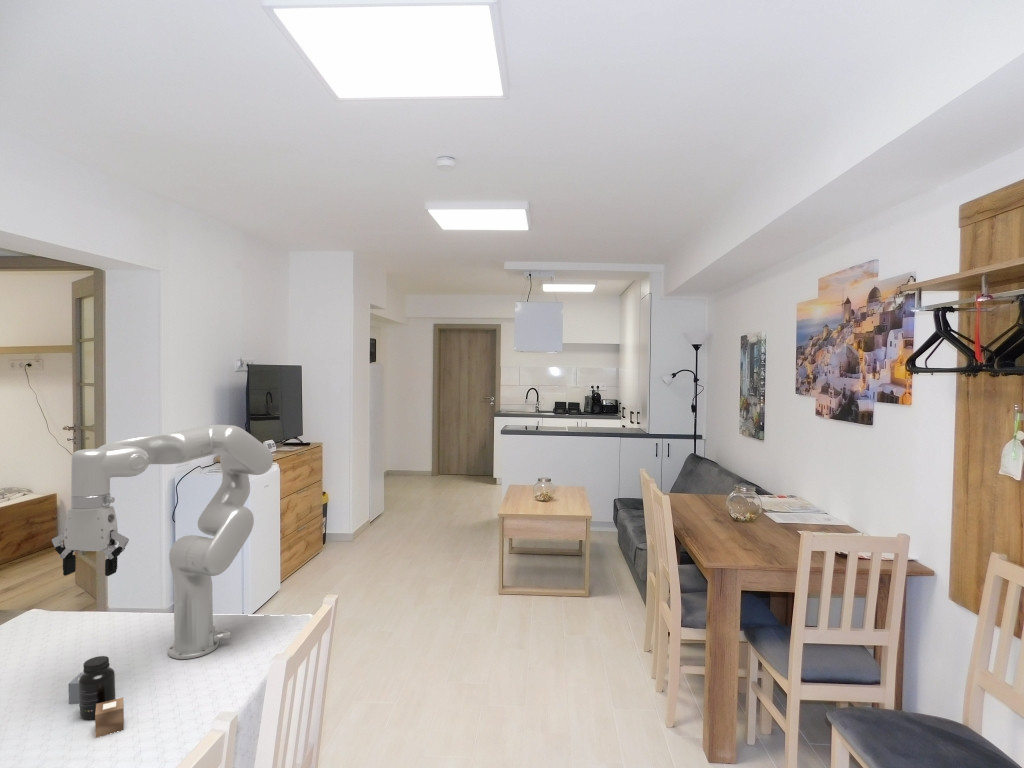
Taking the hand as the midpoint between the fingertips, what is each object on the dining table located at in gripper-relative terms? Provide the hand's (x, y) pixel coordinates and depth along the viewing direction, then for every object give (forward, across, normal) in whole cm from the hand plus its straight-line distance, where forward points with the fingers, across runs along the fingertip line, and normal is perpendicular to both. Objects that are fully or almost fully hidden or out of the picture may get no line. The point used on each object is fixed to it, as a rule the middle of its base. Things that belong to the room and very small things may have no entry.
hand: (90, 574), depth 143 cm
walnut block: (+30, -12, +11) cm, 34 cm away
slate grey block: (+30, +1, -1) cm, 30 cm away
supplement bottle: (+30, -6, +5) cm, 31 cm away
